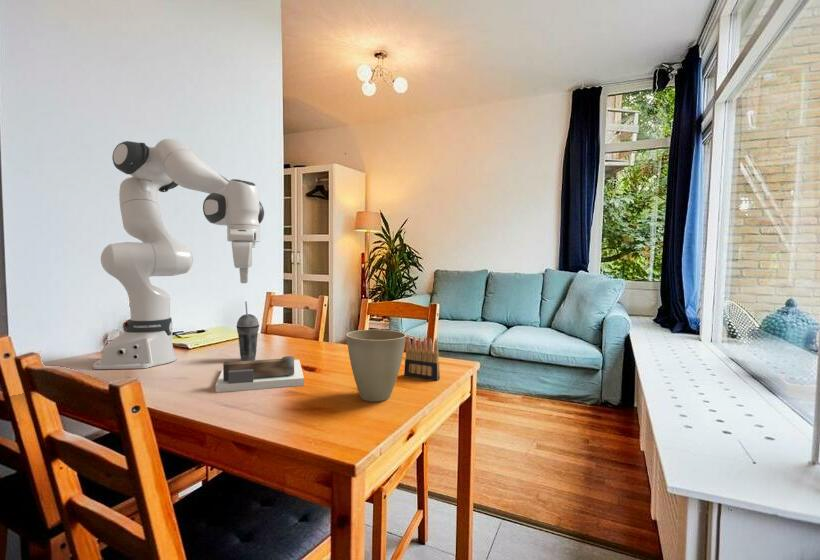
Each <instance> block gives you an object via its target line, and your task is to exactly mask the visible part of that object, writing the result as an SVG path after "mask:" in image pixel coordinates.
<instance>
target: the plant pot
mask: <svg viewBox="0 0 820 560" xmlns="http://www.w3.org/2000/svg"><path fill="white" fill-rule="evenodd" d="M346 342H347V349H348V357H349V361H350V366H351V371H352V375H353V377H354V382H355V384H356V388H357V391H358V395H359V396H360V399H362V400H364V401H367V402H372V403H373V402H374V403H375V402H384V401H387V400H388V399H390V398H391V395H392V393H393V390H394V388H395V385H396V382H397V379H398V376H399V372H400V369H401V365H402V362H403V357H404V351H405V348H406V347H405V345H406V342H407V334H406V333H405V332H402V331H397V330H391V329H389V330H388V329H360V330H353V331H350V332H347V333H346Z"/></svg>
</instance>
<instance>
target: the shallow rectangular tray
mask: <svg viewBox="0 0 820 560" xmlns="http://www.w3.org/2000/svg"><path fill="white" fill-rule="evenodd" d="M302 386H305V376H304V374H303V370H302V365H301V362H300V359H294V374H293V375H288V376H285V375H283V376H270V377H258V378H253V369H243V370H229V372H228V381H223V369H222V370H221V371H220V374H219V376H218V378H217V381H216V383H215V393H227V392H240V391H251V390H262V389H263V390H264V389H275V388H289V387H302Z"/></svg>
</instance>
